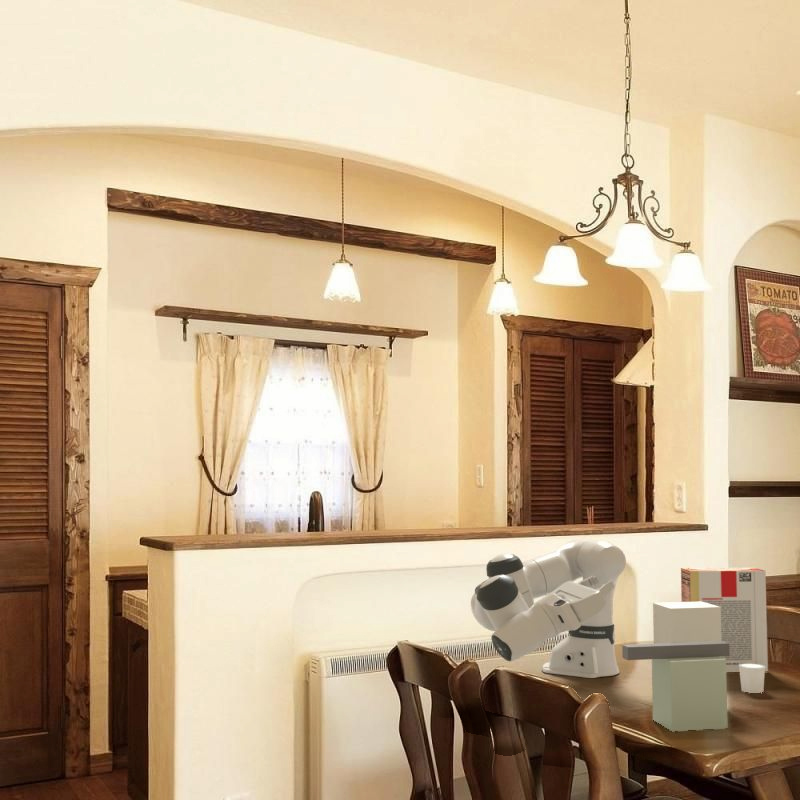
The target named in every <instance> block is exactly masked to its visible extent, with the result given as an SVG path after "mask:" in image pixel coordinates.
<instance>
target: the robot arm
mask: <svg viewBox="0 0 800 800" xmlns="http://www.w3.org/2000/svg"><path fill="white" fill-rule="evenodd" d="M626 564H627V558H626V555H625V553H624V551H623V550H622V549H621V548H620V547H618V546H617V545H616V544H613V543H611V542H608V541H602V540H595V539H589V538H578V539H574V540H570V541H569V542H567V543H566V544H565V545H563V546H562V547H560V548H559V549H558V548H557V550H553V552H550V553H547V554H544V555H540V556H538V557H535V558H532V559H530V560H527V561H524V562H522V560H521V558H520V557H519V556H517V555H515V554H509V553H502V554H499V555H497V556H495V557H493V558H492V559H490V560H489V561H488V563H487V565H486V568H485V569H486V576H487V577H488V579H485V580H484V581H482V582H481V583H479V584H478V585H477V586H475V589H474V593H473V595H472V597H471V600H470V609H471V613H472V615H473V617H474V619H475V620H476V621H477V623H478V624H479V625H481V626H482V627H483V628H484V629H486V630H488V631H490V632H493V633H492V634H491V636H490V637H491V642H492V645H493V648H494V649H495V651H496V652H497V654H498V655H499V656H500V657H501V658H502V659H504V660H505V661H507V662H513V661H516V660H518V659H521V658H522V657H524V656H526V655H528V654H531V653H532V652H534V651H536V650H537V649H539V648H540V647H541V646H543V645H544V643H545V642H546V641H548V640H549V639H552V638H555V637H557V636H558V635H559V634H561V633H564V632H568V634H569V635H568V636H566V637H565V638H563V639H562V640H561V641H559V642H558V643H557V644H556V645H555V646H554V647H552V649H551V651H550V657H549V661H547V662H545V663H544V664H542V669H541V670H542V672H543V673H546V674H554V675H561V676H569V677H576V678H577V677H578V678H586V679H596V678H600V677H602V678H603V677H611V676H615V675H618V674H619V673H620V670H619V666H618V663H617V659H616V658H617V657H616V653H615V642H616V628H615V624H614V623H613V622H614V617H613V616H614V614H613V613H614V611H613V610H614V607H613V606H614V594H615V589H616V585H617V582H618V580H619V577H620V576H621V575H622V574H623V572H624V571H625V569H626ZM579 579H582V580H580V581H578V582H575V581H577V580H579ZM541 597H542V598H541ZM538 598H540V599H539V600H537V601H535V602H534V600H535V599H538Z"/></svg>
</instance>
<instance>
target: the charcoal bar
mask: <svg viewBox="0 0 800 800" xmlns="http://www.w3.org/2000/svg"><path fill="white" fill-rule="evenodd" d="M621 648H622V651H621V652H622V654H621V655H622V658H623V659H625V660H627V661H641V660H642V661H646V660H652V659H671V658H695V657H720V656H730V650H729V643H727V642H724V641H713V642H686V643H659V644H654V643H637V644H636V643H635V644H633V643H632V644H622V647H621Z"/></svg>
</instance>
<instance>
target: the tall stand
mask: <svg viewBox="0 0 800 800" xmlns="http://www.w3.org/2000/svg"><path fill="white" fill-rule="evenodd" d="M652 614H653V616H652V619H653V621H652V623H653V625H652V626H653V627H652V628H653V644H659V643H686V642H713V641H721V607H719V606H715V605H712V604H709V603H705V602H702V601H701V602H682V601H675V602H673V601H672V602H670V601H669V602H653V603H652ZM720 657H721V658H722V656H720Z"/></svg>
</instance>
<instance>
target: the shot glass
mask: <svg viewBox="0 0 800 800" xmlns="http://www.w3.org/2000/svg"><path fill="white" fill-rule="evenodd" d="M739 672H740V673H739V678H740V679H739V680H740V688H741V692H743V691H744V692H743V693H745V692H749V693H748V694H750V693H760V692H761V694H763V693H764V688H765V687H764V686H765V675H766V672H765V666H764V665H760V664H754V663H742V664H739ZM762 692H763V693H762Z"/></svg>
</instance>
